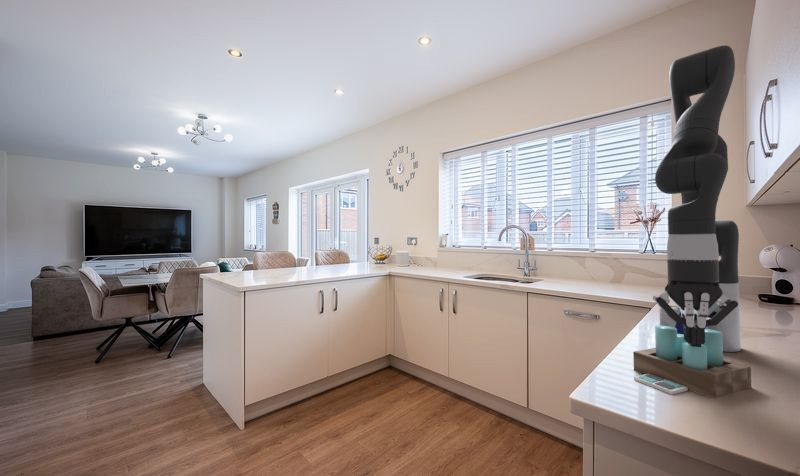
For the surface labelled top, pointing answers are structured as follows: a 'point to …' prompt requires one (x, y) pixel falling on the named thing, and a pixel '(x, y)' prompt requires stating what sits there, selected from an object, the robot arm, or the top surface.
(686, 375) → the wooden compartment tray
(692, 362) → the light turquoise rounded peg
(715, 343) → the turquoise cylinder
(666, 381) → the tile
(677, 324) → the energy drink
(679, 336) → the teal capsule
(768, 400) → the top surface
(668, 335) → the pale teal rounded cylinder
